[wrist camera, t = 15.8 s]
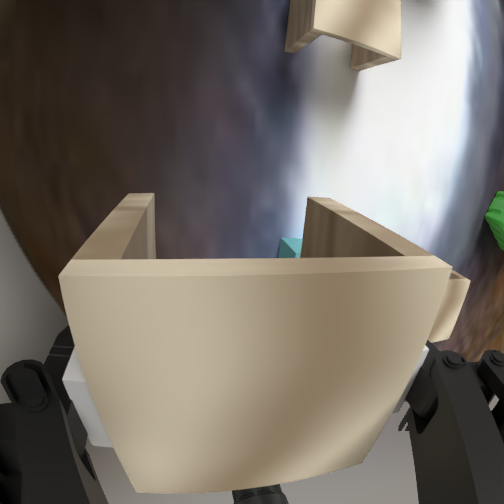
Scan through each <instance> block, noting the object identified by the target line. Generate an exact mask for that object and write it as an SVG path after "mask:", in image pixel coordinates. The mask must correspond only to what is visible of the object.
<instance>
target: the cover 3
mask: <svg viewBox="0 0 504 504" xmlns="http://www.w3.org/2000/svg"><path fill="white" fill-rule="evenodd" d="M469 284H470V280H468V279H467V278H465V277H463V276H462V275H460V274H458V273H457V272H455V271H453V270H452V271H451V274H450V277H449V281H448V284H447V287H446V290H445V293H444V296H443V299H442V302H441V305H440V308H439V311H438V313H437V316H436V319H435V321H434V324H433V327H432V329H431V332H430V334H429V337H428V339H427V340H429V341H430V342H431V343H432V342H437V341H441V340H445V339H449V337H450V335H451V333H452V330H453V328H454V325H455V323H456V320H457V318H458V315H459V313H460V310H461V307H462V305H463V302H464V299H465V296H466V293H467V290H468V287H469Z"/></svg>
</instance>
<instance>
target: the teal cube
mask: <svg viewBox="0 0 504 504" xmlns="http://www.w3.org/2000/svg"><path fill="white" fill-rule="evenodd" d="M301 247H302V239H296V238H281V242H280V249H279V256H278V258H300V254H301Z"/></svg>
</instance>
